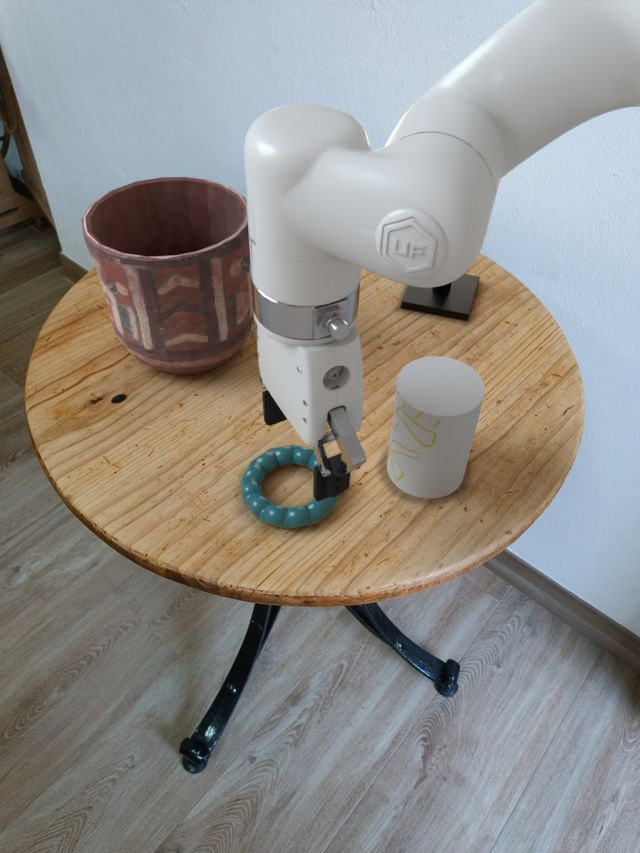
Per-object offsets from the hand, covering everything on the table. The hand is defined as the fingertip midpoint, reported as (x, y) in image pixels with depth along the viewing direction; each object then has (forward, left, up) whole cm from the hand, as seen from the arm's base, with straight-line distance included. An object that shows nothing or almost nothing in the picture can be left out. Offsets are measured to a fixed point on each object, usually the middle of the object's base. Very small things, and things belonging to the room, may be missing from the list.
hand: (304, 454), depth 61 cm
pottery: (+23, -21, -10) cm, 32 cm away
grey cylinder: (-10, -10, -10) cm, 17 cm away
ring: (+3, -3, -9) cm, 9 cm away
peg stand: (-5, -41, -10) cm, 42 cm away
